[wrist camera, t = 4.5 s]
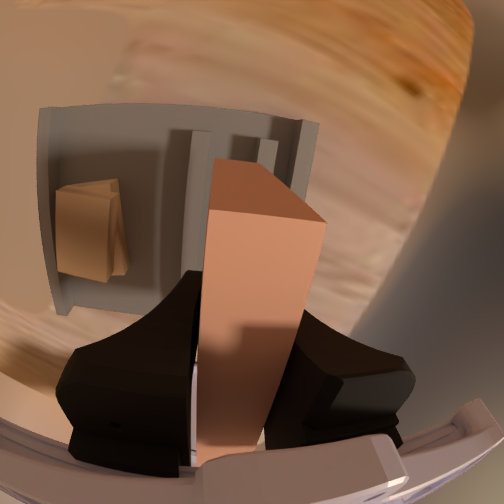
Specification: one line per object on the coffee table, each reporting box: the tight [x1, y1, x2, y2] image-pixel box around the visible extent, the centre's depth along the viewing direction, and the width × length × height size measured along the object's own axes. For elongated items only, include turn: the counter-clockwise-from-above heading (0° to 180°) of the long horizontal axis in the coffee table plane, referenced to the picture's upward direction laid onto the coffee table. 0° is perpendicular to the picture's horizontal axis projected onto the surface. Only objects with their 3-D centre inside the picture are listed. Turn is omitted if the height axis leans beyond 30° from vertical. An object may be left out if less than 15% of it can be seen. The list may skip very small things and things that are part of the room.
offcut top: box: [55, 185, 119, 283], centre depth 15 cm, size 5×4×2 cm
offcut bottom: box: [56, 179, 130, 276], centre depth 16 cm, size 6×4×2 cm, turn 179°
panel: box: [196, 158, 327, 467], centre depth 10 cm, size 10×2×8 cm, turn 171°
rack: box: [37, 103, 319, 316], centre depth 17 cm, size 15×17×2 cm
